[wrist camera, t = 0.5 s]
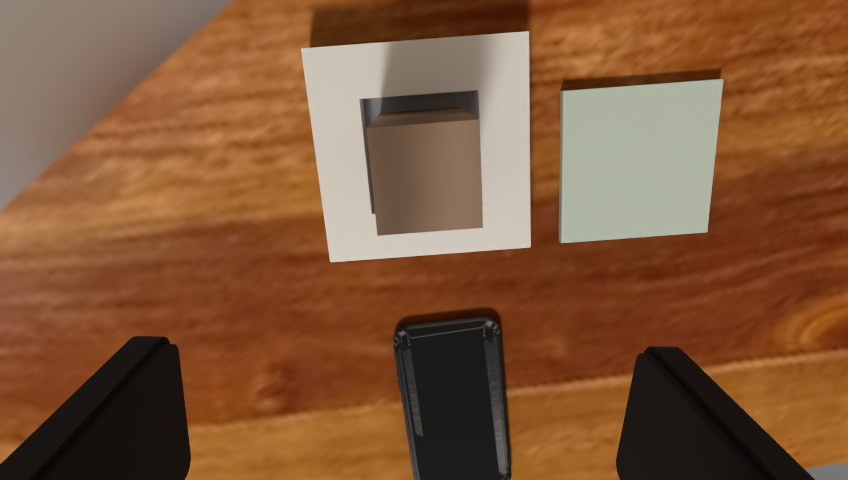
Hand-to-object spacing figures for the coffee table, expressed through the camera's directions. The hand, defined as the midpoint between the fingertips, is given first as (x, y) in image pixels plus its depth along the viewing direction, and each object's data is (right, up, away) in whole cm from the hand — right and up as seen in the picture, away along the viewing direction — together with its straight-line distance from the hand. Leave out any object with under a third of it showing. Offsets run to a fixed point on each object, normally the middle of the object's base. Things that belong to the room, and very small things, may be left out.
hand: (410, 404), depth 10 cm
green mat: (+14, +8, +23) cm, 29 cm away
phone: (+3, -9, +29) cm, 31 cm away
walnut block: (0, +9, +22) cm, 24 cm away
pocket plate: (0, +9, +23) cm, 24 cm away
